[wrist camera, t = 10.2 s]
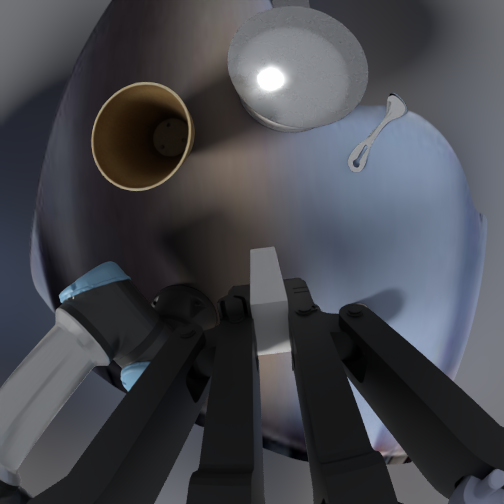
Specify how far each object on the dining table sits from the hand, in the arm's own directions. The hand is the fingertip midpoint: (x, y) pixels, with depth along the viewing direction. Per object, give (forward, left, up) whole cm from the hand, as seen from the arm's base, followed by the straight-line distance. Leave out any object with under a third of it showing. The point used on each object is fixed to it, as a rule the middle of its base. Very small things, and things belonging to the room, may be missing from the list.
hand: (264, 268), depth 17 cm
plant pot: (-15, +12, -34) cm, 39 cm away
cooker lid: (+7, +21, -21) cm, 30 cm away
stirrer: (+23, +11, -34) cm, 43 cm away
